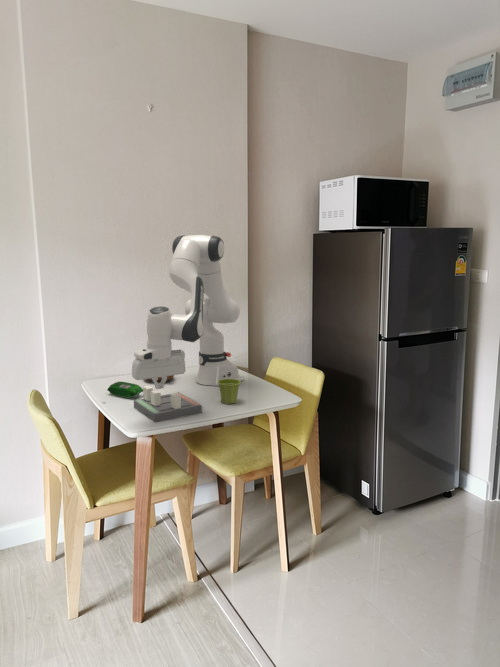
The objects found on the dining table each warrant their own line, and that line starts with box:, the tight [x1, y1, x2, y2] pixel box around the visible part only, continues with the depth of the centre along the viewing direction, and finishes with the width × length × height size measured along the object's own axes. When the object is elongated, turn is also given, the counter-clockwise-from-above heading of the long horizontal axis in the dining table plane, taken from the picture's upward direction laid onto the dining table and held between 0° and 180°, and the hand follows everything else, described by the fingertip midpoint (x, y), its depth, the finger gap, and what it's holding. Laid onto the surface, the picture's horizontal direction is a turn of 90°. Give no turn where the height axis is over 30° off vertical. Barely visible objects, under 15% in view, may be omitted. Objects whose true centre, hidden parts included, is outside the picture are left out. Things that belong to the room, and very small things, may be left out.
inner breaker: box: [142, 385, 154, 401], centre depth 209 cm, size 2×4×5 cm
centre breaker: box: [151, 389, 162, 406], centre depth 204 cm, size 2×4×5 cm
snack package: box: [106, 381, 143, 399], centre depth 224 cm, size 7×16×5 cm, turn 62°
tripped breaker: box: [170, 392, 181, 409], centre depth 201 cm, size 2×4×5 cm
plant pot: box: [218, 379, 242, 405], centre depth 218 cm, size 9×9×9 cm
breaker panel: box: [133, 391, 203, 423], centre depth 207 cm, size 20×19×3 cm
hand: (159, 388), depth 196 cm, fingers closed
